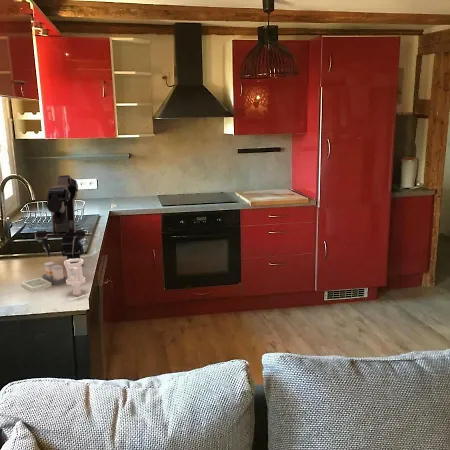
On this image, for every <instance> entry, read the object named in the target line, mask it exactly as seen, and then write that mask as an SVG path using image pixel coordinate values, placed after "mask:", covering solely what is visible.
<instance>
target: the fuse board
mask: <svg viewBox="0 0 450 450" xmlns="http://www.w3.org/2000/svg"><path fill="white" fill-rule="evenodd" d="M41 278H42V279H44V280H47V281H49V282H51V284H52V285H54V286H56V287H58V286H62V285H64V284H66V280H67V279H68V276H67V277H66V276H64V279H60V280H54V279H53V276H51V277H47V276H46V273H45V274H42V276H41Z"/></svg>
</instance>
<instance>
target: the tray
mask: <svg viewBox="0 0 450 450" xmlns="http://www.w3.org/2000/svg"><path fill="white" fill-rule="evenodd" d="M37 283H41V284H39V285H36V286H32V285H34V284H37ZM20 284H21V287H22V288H24V289H26V290H27V291H30V292H31V293H33V292H37V291H40V290H44V289H47V288H52V285H53V284H51V282H49V281H47V280H44V279H43V277H37V278H33V279H30V280H26V281H23V282H21V283H20Z"/></svg>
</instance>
